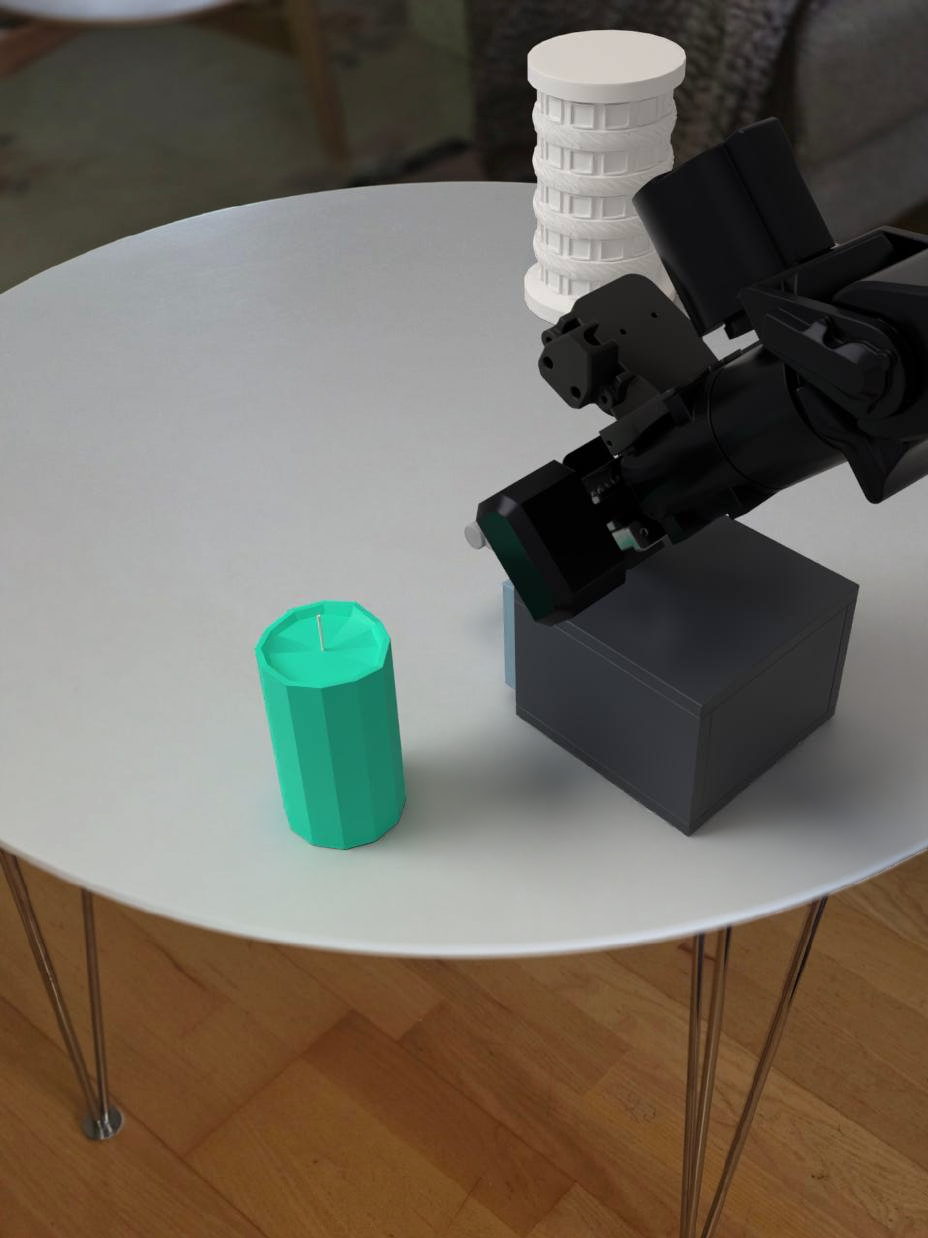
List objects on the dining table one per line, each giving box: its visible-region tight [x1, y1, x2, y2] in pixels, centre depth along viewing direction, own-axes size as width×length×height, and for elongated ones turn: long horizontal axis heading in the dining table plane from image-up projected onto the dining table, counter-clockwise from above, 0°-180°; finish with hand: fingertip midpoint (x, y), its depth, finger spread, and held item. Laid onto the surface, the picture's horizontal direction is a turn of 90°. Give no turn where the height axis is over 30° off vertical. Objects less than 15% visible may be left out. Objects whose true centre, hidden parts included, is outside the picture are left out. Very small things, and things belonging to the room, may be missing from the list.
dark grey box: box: [514, 514, 860, 837], centre depth 68 cm, size 12×12×9 cm
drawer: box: [463, 520, 516, 691], centre depth 70 cm, size 16×10×7 cm, turn 43°
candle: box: [253, 599, 407, 850], centre depth 63 cm, size 6×6×12 cm
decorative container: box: [524, 29, 687, 326], centre depth 100 cm, size 12×12×18 cm
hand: (566, 523), depth 70 cm, fingers closed
